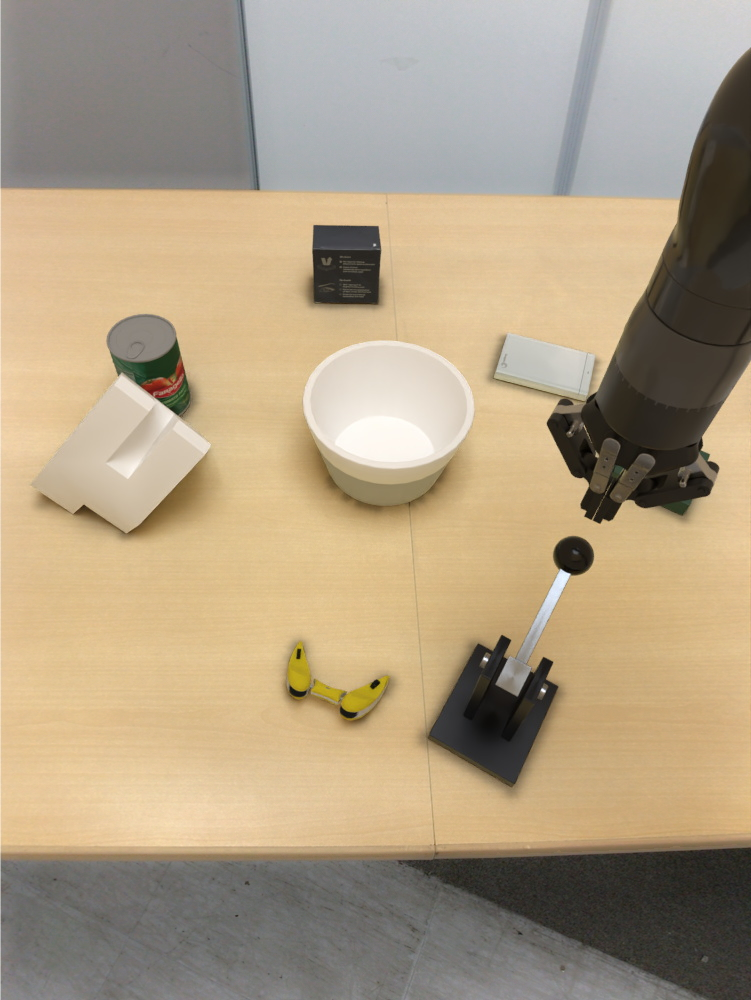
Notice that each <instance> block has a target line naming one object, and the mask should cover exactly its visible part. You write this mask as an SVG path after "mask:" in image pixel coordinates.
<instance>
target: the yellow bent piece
mask: <svg viewBox="0 0 751 1000" xmlns="http://www.w3.org/2000/svg"><path fill="white" fill-rule="evenodd" d="M311 676H312V675H311V671H310V668H309V663H308V661H307V657H306V654H305V649H304V643H303V641H302V640H299V641H298V643H297V644H296V646H295V648H294V650H293V652H292V654H291V656H290V659H289V662H288V667H287V672H286V677H285V679H286V680H285V683H286V684H285V685H286V688H287V689H286V690H287V692H288V693H289V695H290V697H291V698H293V699H295V700H303V699H305V698H307V696H308V695H309V694H310V695H311V696H312V697H314V698H318V699H320V700H323V701H325V702H328V703H330V704H332V705H334V706H338V705H339V704H340V705H339V715H340V716H341V718H342V719H344V720H347V721H355V720H359V719H361V718H363V717H364V716H366V715H367V714H368V713H369V712H371V711H372V710H373V708H374V707H375V706H376V705H377V704H378V703H379V701H380V700H381V698H382V697H383V695H384V693H385V691H386V689H387V687H388V685H389V680H390V675H389V674H388V675H383V676H382V677H381V678H376V679H374V680H373V681H372V682H369V683H367V684H365V685H362V686H360V687H358V688H356V689H353V690H351V691H349V692H348V691H346V690H345V689H339V688H335V687H332V686H330V685H327V684H326V683H323V682H321V681H320V680H318V679H317V678H314V679H313V684H312V677H311ZM309 692H310V693H309ZM347 692H348V693H347Z"/></svg>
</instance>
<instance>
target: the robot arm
mask: <svg viewBox="0 0 751 1000" xmlns="http://www.w3.org/2000/svg"><path fill="white" fill-rule="evenodd" d="M613 352H614V353H613V354H612V356H611V358H610V361H609V364H608V365H607V368H606V371H605V373H604V375H603V377H602V380H601V382H600V384H599V387H598V389H597V391H595V392H594V393H592V394H590V395H588V396H587V398H586V401H585V403H579V404H574V402H573V401H572V400H571V399H569V398H566V397H565V398H563V397H562V398H560V399H559V400H558V402H557V404H556V406H555V407H554V409H553V411H552V412H551V414H550V416H549V417H548V419H547V421H546V426H547V429H548V430H549V432H550V434H551V437H552V438H553V440H554V443H555V444H556V446H557V447H556V448H558V450H559V452H560V455H561V457H562V459H563V461H564V463H565V465H566V467H567V469H568V471H569V472H570V474H571V475H572V476H573V477H574V478H576V479H584V480H585V481H586V482H587V483H588V487H587V489H586V491H585V493H584V496H583V498H581V499H582V500H581V501H580V509H581V510H583V511H585V513H584V515H583V517H584V518H586V519H588V520H590V521H592V522H594V523H597V524H599V525H601V524H602V522H603V521H607V522H610V521H613V520H614V519H615V517H616V515H617V513H618V511H619V510H620V508H621V506H622V504H623V503H625V502H626V501H633V502H634V503H635V505H636V506H637V507H639V508H642V509H650V508H655V507H662V506H661V505H666V504H671V503H676V502H681V501H686V500H691V499H692V500H696V499H701V498H706V497H709V496H710V495H711V493H712V491H713V488H714V486H715V484H716V481H717V478H718V475H719V472H720V466H719V464H718V463H717V462H714V461H713V460H708V461H705V460H704V459H703V457H702V456H701V454H700V453H699V452H700V451H701V450H702V449H703V447H704V439H703V437H704V435H705V433H706V431H708V429H709V427H710V425H711V424H712V423H713V421H714V419H715V418H716V416H717V415H718V413H719V412H720V411H721V408H722V407H723V406H724V404H725V403H726V401H727V399H728V397H729V396H730V394H731V393H732V392H733V390H734V388H735V387H736V385H737V383H738V382H739V380H740V379H741V378H742V376H743V374H744V373H745V371H746V370H747V368H748V366H749V365H750V363H751V47H749V48H748V49H747V50H746V51H745V52H743V54H742V55H741V56H739V58H738V59H737V60H736V62H735V63H733V65H732V67H731V68H730V69H729V70H728V71H727V74H726V75H725V77H723V79H722V81H721V82H720V83H719V86H718V87H717V90H716V91H715V93H714V95H713V97H712V98H711V100H710V103H709V105H708V107H707V110H706V112H705V114H704V116H703V119H702V120H701V123H700V126H699V128H698V131H697V133H696V136H695V139H694V142H693V145H692V148H691V152H690V156H689V160H688V164H687V169H686V172H685V177H684V182H683V186H682V190H681V194H680V198H679V202H678V210H677V217H676V223H675V225H674V227H673V229H672V230H671V232H670V234H669V236H668V239H667V240H666V242H665V244H664V247H663V249H662V251H661V253H660V256H659V258H658V260H657V263H656V265H655V267H654V269H653V272H652V274H651V276H650V279H649V281H648V284H647V286H646V288H645V289H644V291H643V292H642V295H641V296H640V298H639V299H638V301H637V302H636V304H635V305H634V307H633V309H632V311H631V313H630V315H629V317H628V319H627V321H626V323H625V324H624V327H623V331H622V334H621V335H620V338H619V341H618V343H617V345H616V347H615V350H614V351H613ZM597 455H598V457H597ZM616 466H621V467H622V468H623V470H622V471H621V473H620V475H619V476H618V477H617V478H615V477H613V476H612V475H613V473H614V470H615V468H616ZM645 475H647V476H646V477H645ZM644 477H645V478H644ZM613 478H614V479H613ZM612 480H613V481H612ZM611 482H612V483H611Z"/></svg>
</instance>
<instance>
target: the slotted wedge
mask: <svg viewBox="0 0 751 1000" xmlns="http://www.w3.org/2000/svg"><path fill="white" fill-rule="evenodd" d="M211 446H212V444H211V443H210V441H208V440H207V438H206V437H205V436H204V435H203V434H202V433H201V432H200V431H198V430H197V429H196V428H194V427H193V426H192V425H191V424H189V423H188V422H187V421H186V420H184V419H183V418H182V417H181V416H180V417H179V416H178V415H176V414H175V413H174V412H172V411H171V410H170V409H169V408H167V407H166V406H165V405H163V404H162V403H161V402H160V401H158V400H157V399H156V398H154V397H153V396H152V395H151V394H149V393H148V392H147V391H145V390H144V389H143V388H142V387H140V386H139V385H138V384H136V383H135V382H134V381H133V380H131V379H130V378H129V377H127V376H126V375H125V374H124V373H121V374H120V375H119V377H118V376H117V378H116V379H114V381H113V382H112V383H111V385H110V386H109V387H108V388H107V389H106V390H105V391H104V393H103V394H102V395H101V396H100V397H99V398H98V399H97V401H96V402H95V403H94V405H92V407H91V408H90V409H89V411H88V412H87V413H86V415H85V416H84V417H83V418H82V420H81V421H80V422H79V423H78V425H77V426H76V427H75V428H74V429H73V430H72V432H71V433H70V434H69V435H68V437H67V438H65V440H64V442H63V443H62V444H61V445H60V447H59V448H58V449H57V450H56V452H55V453H54V454H53V455H52V457H50V459H49V460H48V461H47V463H46V464H45V465H44V466H43V468H42V469H41V470H40V471H39V473H38V474H37V475H36V476H35V477H34V479H33V480H32V481H31V482H30V484H29V486H30V487H32V488H33V489H35V490H36V491H38V492H39V493H41V494H42V495H44V496H45V497H47V498H48V499H50V500H51V501H53V502H54V503H56V504H57V505H59V506H60V507H61V508H63V509H65V510H66V511H68V512H69V513H70V514H72V515H74V514H75V513H76V512H78V510H79V509H80V508H81V507H83V506H86V507H87V508H88V509H89V510H91V511H92V512H94V513H95V514H97V515H98V516H99V517H101V518H103V519H104V520H105V521H107V522H108V523H110V524H111V525H113V526H114V527H116V528H117V529H119V530H121V531H122V532H123V533H125V534H128V533H129V532H131V531H133V530H134V529H136V528H137V527H138V526H140V525H141V524H142V523H143V522H144V521H145V519H146V518H147V517H149V515H150V514H151V513H152V512H153V511H154V510H155V509H156V508H157V507H158V506H159V505H160V503H162V501H163V500H165V498H166V497H167V496H168V495H169V494H170V493H171V492H172V491H173V490H174V489H175V487H176V486H178V484H179V483H180V482H181V481H182V480H183V479H184V478H185V477H186V476H187V475H188V473H190V471H192V469H194V467H195V466H196V465H197V464H198V463H199V462H200V461H201V460H202V459H203V458H204V457H205V456H206V454H207V452H208V451H209V450H210V448H211Z"/></svg>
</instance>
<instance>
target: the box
mask: <svg viewBox="0 0 751 1000" xmlns="http://www.w3.org/2000/svg"><path fill="white" fill-rule="evenodd" d="M380 235H381V234H380V226H379V225H349V224H347V225H346V224H345V225H342V224H341V225H337V224H313V225H312V247H311V253H312V276H313V279H312V280H313V302H314V304H322V303H328V304H333V303H335V304H374V305H375V304H378V303H379V301H380V300H379V299H380V298H379V297H380V276H381V275H380V274H381V258H382V244H381V236H380Z"/></svg>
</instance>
